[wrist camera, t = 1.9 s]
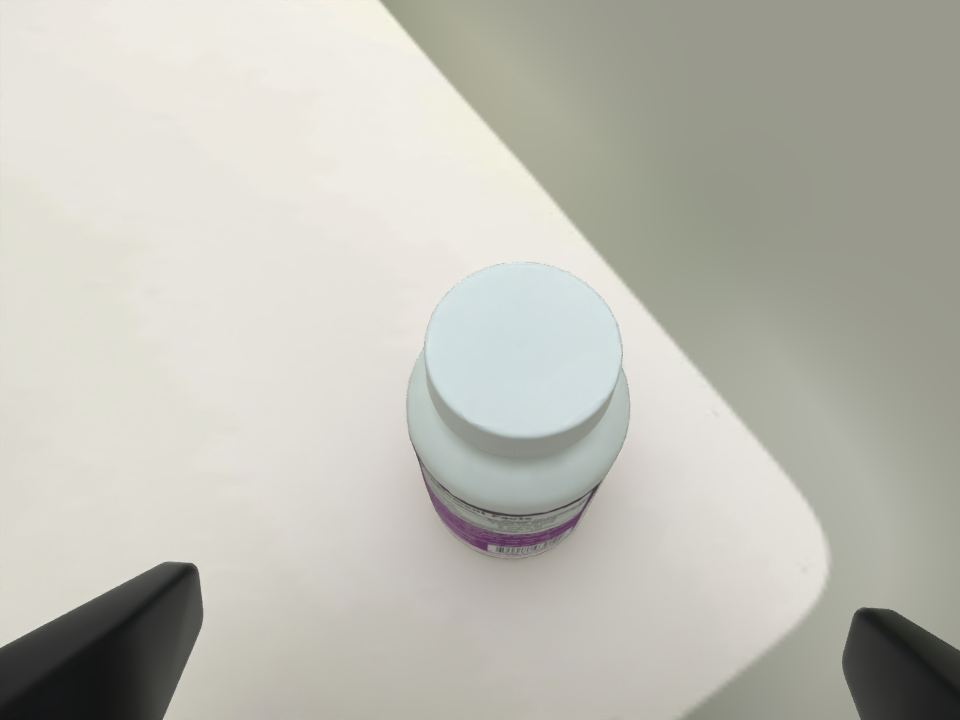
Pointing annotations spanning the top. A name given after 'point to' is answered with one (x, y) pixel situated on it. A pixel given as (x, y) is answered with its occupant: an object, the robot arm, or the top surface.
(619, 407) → the pill bottle
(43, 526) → the top surface
